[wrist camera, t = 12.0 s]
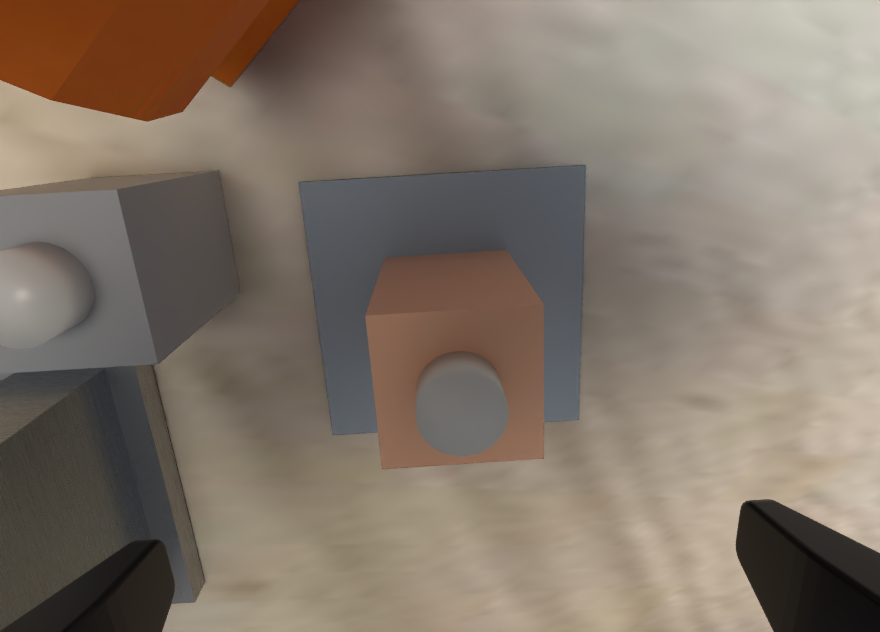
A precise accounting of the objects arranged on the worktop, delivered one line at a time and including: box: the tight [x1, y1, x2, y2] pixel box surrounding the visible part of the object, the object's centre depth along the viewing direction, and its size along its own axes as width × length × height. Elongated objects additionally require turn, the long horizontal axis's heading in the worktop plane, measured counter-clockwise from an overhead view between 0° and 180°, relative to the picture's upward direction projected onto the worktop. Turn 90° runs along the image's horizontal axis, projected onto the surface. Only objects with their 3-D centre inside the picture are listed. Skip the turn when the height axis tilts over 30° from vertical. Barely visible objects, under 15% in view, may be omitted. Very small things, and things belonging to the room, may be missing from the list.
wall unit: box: [0, 365, 205, 630], centre depth 16 cm, size 5×11×10 cm, turn 3°
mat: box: [299, 165, 586, 435], centre depth 19 cm, size 9×9×1 cm
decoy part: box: [0, 170, 240, 374], centre depth 14 cm, size 4×4×7 cm
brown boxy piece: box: [365, 250, 544, 469], centre depth 15 cm, size 4×4×7 cm
